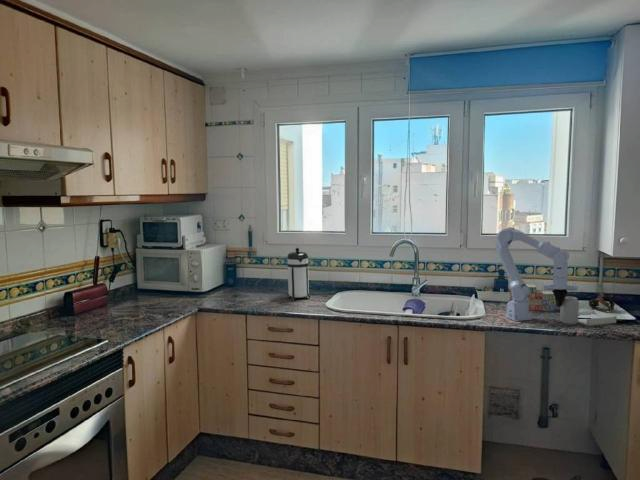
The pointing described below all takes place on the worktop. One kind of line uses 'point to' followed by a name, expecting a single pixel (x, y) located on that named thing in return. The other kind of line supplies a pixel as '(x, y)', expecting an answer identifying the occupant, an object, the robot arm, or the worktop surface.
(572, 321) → the can
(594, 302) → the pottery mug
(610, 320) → the tray
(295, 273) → the coffee press
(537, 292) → the stack of blocks
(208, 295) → the worktop surface
